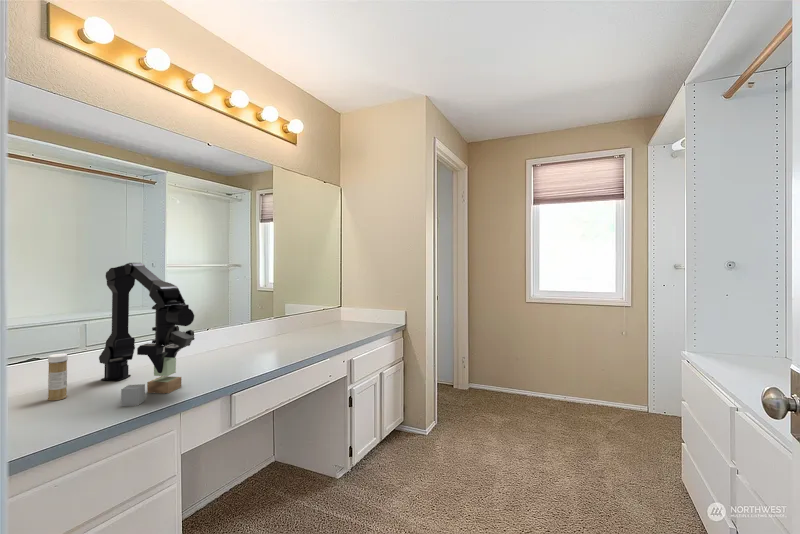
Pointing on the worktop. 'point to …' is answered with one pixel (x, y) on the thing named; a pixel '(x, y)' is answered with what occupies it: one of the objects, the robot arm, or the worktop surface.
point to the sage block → (167, 367)
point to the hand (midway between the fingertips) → (164, 370)
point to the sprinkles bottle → (57, 376)
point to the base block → (163, 384)
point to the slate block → (133, 395)
